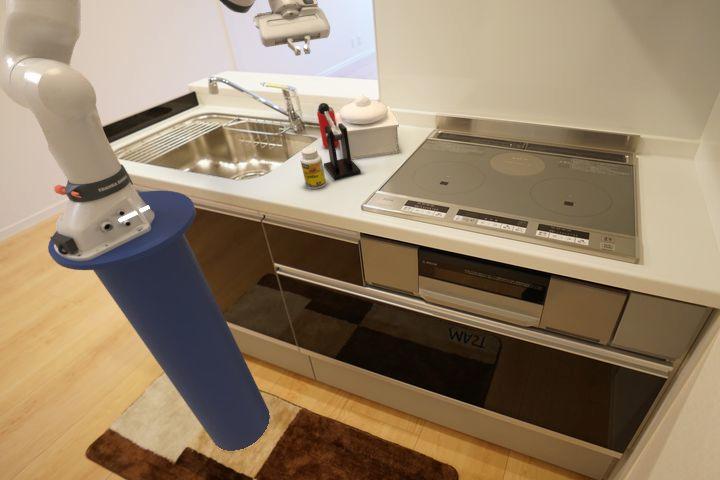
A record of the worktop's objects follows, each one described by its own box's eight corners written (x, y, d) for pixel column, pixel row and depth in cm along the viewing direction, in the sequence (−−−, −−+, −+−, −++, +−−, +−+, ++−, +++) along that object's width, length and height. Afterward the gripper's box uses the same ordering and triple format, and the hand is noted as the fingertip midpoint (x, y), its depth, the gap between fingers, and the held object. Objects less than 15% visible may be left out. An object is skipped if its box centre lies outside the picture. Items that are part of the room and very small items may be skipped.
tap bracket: (324, 167, 123) (316, 124, 115) (349, 160, 125) (343, 118, 117) (334, 180, 116) (326, 136, 108) (361, 173, 118) (355, 130, 110)
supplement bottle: (303, 189, 113) (295, 154, 107) (310, 179, 117) (303, 145, 111) (322, 190, 112) (315, 155, 106) (329, 180, 116) (322, 146, 110)
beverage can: (333, 141, 137) (327, 105, 130) (342, 146, 134) (336, 109, 126) (320, 146, 135) (313, 109, 127) (328, 151, 132) (322, 113, 124)
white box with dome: (338, 138, 139) (330, 89, 129) (390, 131, 141) (387, 82, 131) (342, 160, 126) (334, 107, 116) (400, 152, 128) (397, 100, 118)
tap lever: (317, 110, 119) (316, 101, 116) (327, 108, 120) (327, 99, 117) (332, 143, 114) (332, 134, 111) (343, 140, 115) (343, 131, 112)
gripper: (250, 6, 114) (266, 52, 113) (321, -3, 120) (337, 40, 119) (252, 22, 120) (267, 66, 119) (319, 13, 126) (334, 54, 125)
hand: (303, 53), depth 119 cm, fingers closed
